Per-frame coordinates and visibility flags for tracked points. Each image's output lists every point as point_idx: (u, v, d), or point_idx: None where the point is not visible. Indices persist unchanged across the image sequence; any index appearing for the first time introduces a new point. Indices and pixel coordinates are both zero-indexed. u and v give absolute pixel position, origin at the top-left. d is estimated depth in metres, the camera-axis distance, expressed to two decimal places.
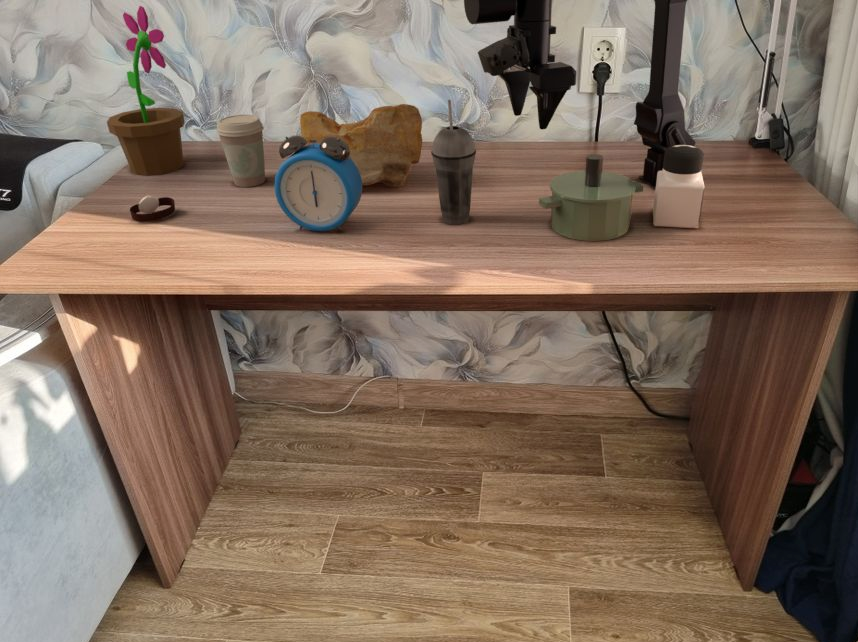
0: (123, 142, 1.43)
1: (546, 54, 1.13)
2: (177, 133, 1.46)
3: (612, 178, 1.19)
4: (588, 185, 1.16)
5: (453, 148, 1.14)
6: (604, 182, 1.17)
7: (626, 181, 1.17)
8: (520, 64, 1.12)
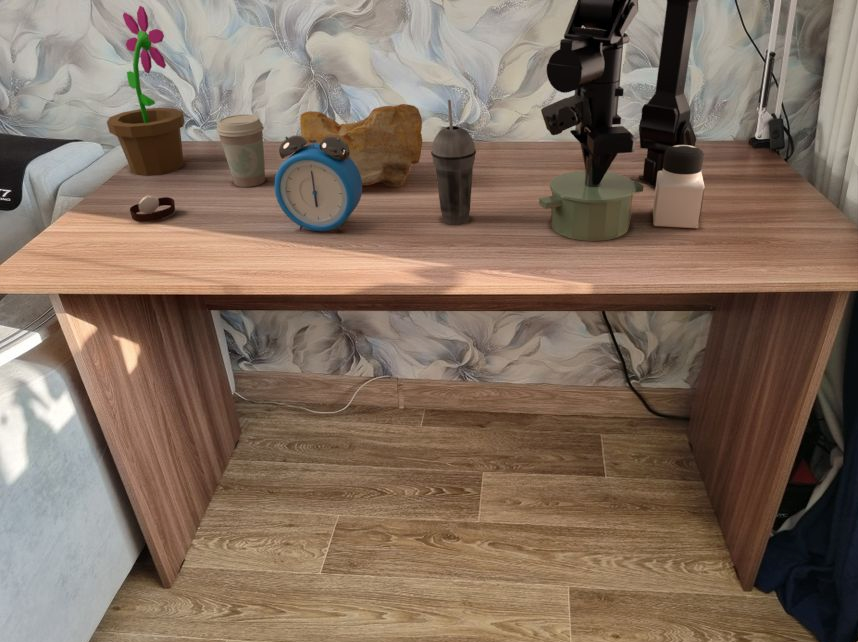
0: (123, 142, 1.43)
1: (611, 116, 1.08)
2: (177, 133, 1.46)
3: (612, 178, 1.19)
4: (588, 185, 1.16)
5: (453, 148, 1.14)
6: (604, 182, 1.17)
7: (626, 181, 1.17)
8: (581, 125, 1.09)
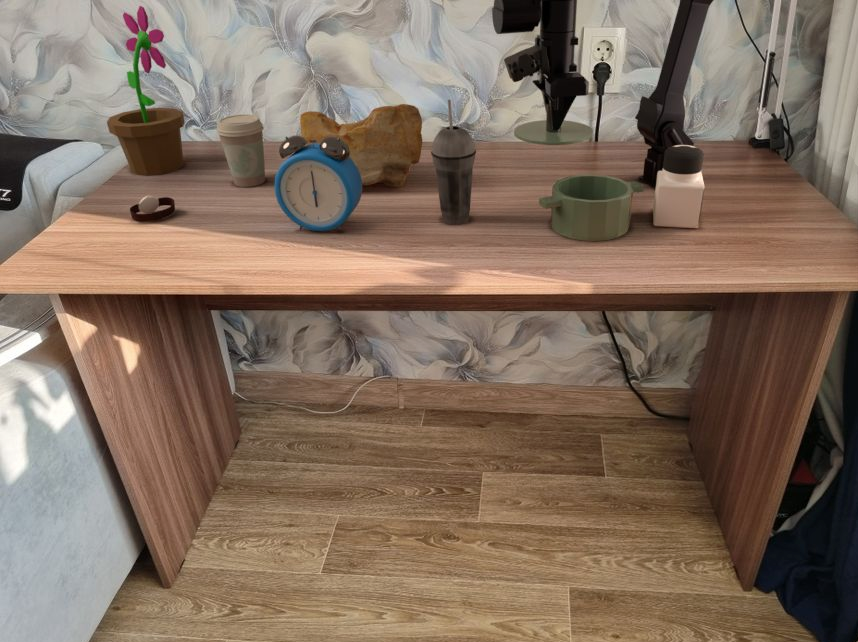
0: (123, 142, 1.43)
1: (567, 64, 1.18)
2: (177, 133, 1.46)
3: (572, 125, 1.28)
4: (549, 131, 1.25)
5: (453, 148, 1.14)
6: (564, 128, 1.27)
7: (585, 127, 1.27)
8: (540, 72, 1.18)
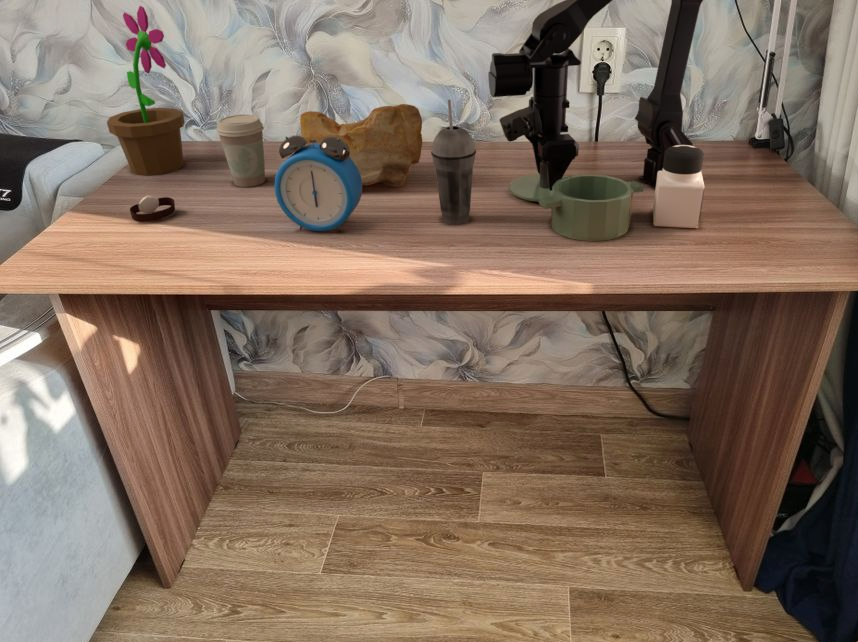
0: (123, 142, 1.43)
1: (559, 125, 1.25)
2: (177, 133, 1.46)
3: None
4: (542, 186, 1.32)
5: (453, 148, 1.14)
6: None
7: None
8: (534, 132, 1.25)
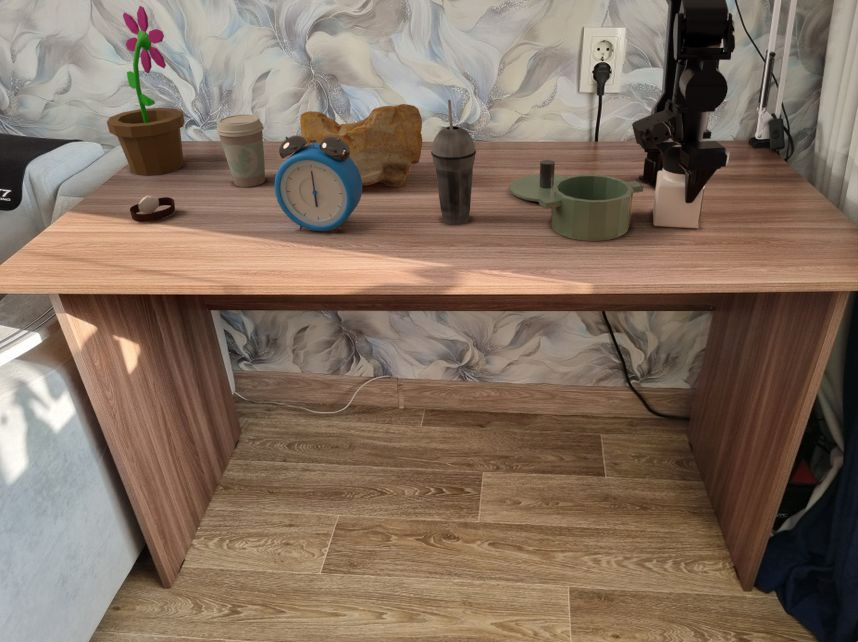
0: (123, 142, 1.43)
1: (702, 131, 1.11)
2: (177, 133, 1.46)
3: None
4: (542, 186, 1.32)
5: (453, 148, 1.14)
6: None
7: None
8: (673, 139, 1.12)
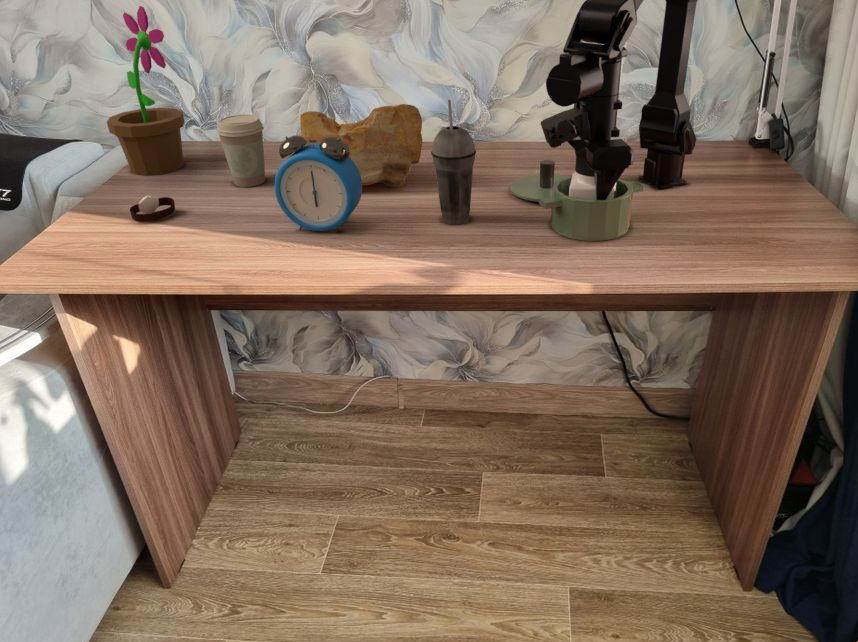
0: (123, 142, 1.43)
1: (610, 129, 1.09)
2: (177, 133, 1.46)
3: None
4: (542, 186, 1.32)
5: (453, 148, 1.14)
6: None
7: None
8: (580, 137, 1.10)
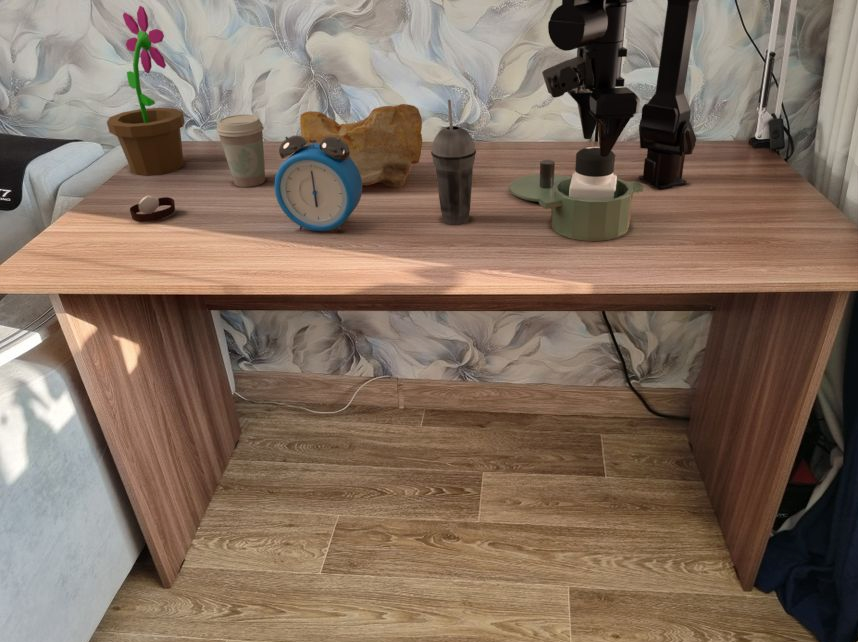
0: (123, 142, 1.43)
1: (614, 78, 1.05)
2: (177, 133, 1.46)
3: None
4: (542, 186, 1.32)
5: (453, 148, 1.14)
6: None
7: None
8: (584, 87, 1.06)
